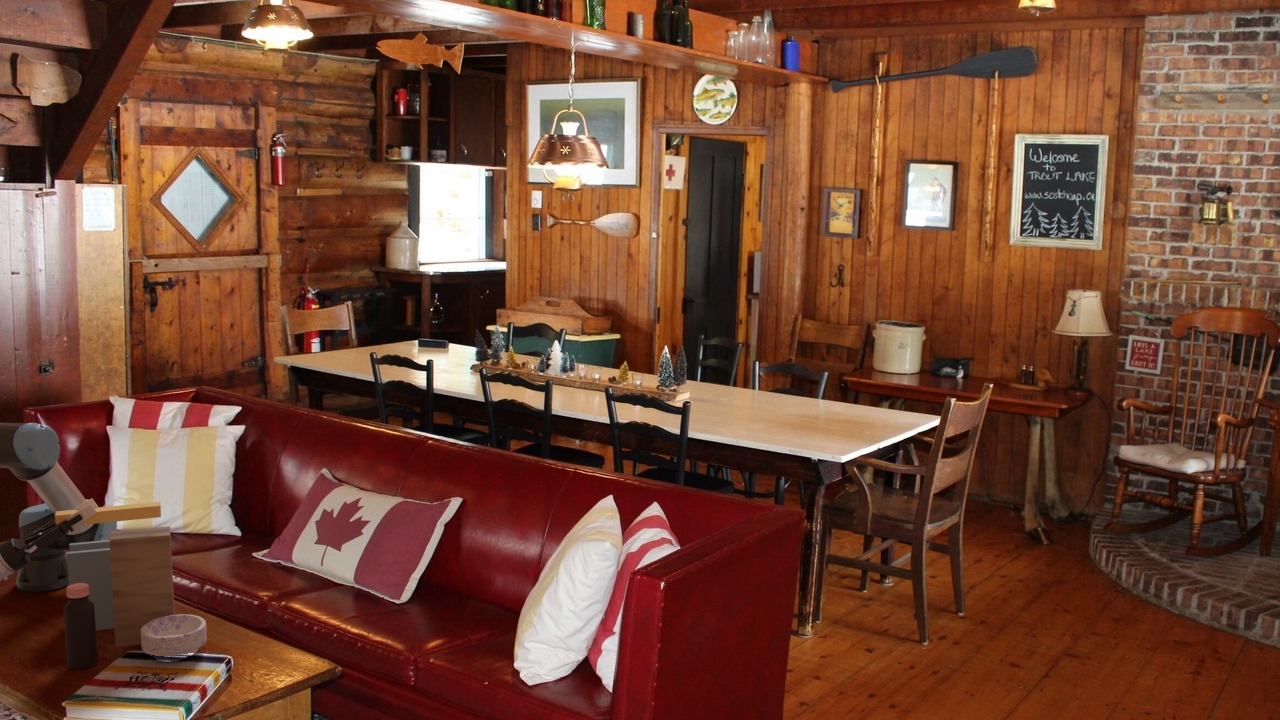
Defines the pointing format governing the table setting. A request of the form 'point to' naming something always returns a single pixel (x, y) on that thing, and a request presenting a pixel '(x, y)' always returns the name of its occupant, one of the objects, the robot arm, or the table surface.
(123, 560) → the walnut pedestal
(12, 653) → the table surface
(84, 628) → the bottle
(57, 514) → the ochre bar
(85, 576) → the grey u cradle
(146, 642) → the paper bowls
